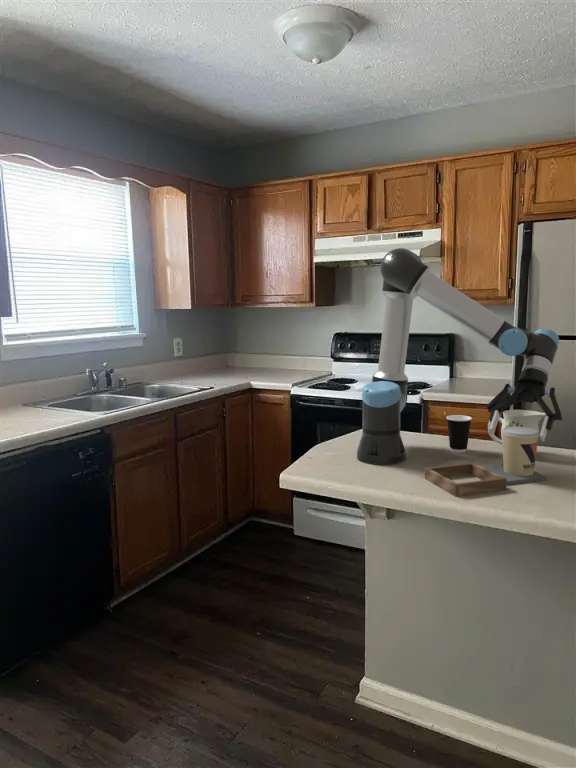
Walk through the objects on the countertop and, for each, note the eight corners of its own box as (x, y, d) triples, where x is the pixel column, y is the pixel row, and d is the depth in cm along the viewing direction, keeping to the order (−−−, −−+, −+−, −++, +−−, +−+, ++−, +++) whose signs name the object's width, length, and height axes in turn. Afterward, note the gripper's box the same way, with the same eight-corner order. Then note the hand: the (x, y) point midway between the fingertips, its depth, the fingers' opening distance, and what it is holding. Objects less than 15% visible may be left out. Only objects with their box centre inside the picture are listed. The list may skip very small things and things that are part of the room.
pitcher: (493, 445, 187) (494, 405, 185) (550, 453, 175) (553, 411, 173) (481, 452, 178) (482, 410, 176) (540, 462, 167) (542, 417, 165)
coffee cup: (526, 479, 148) (528, 435, 147) (494, 471, 155) (495, 430, 154) (543, 472, 154) (545, 429, 153) (511, 464, 161) (512, 424, 160)
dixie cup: (476, 450, 180) (477, 417, 179) (460, 455, 176) (461, 421, 174) (455, 446, 187) (456, 413, 185) (440, 450, 182) (441, 417, 180)
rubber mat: (475, 471, 160) (476, 467, 160) (514, 466, 163) (514, 463, 163) (505, 485, 147) (505, 481, 147) (546, 479, 151) (546, 476, 151)
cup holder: (424, 478, 154) (425, 468, 154) (471, 472, 158) (472, 462, 158) (455, 496, 140) (455, 485, 139) (506, 489, 144) (506, 478, 144)
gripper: (583, 386, 158) (566, 449, 149) (494, 379, 174) (475, 435, 165) (579, 370, 153) (562, 433, 144) (489, 364, 169) (468, 421, 160)
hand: (515, 435), depth 155 cm, fingers open, 13 cm apart
